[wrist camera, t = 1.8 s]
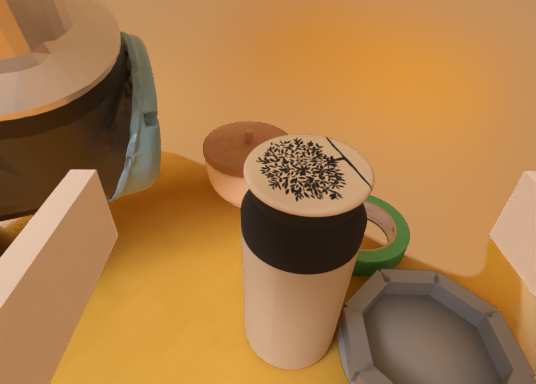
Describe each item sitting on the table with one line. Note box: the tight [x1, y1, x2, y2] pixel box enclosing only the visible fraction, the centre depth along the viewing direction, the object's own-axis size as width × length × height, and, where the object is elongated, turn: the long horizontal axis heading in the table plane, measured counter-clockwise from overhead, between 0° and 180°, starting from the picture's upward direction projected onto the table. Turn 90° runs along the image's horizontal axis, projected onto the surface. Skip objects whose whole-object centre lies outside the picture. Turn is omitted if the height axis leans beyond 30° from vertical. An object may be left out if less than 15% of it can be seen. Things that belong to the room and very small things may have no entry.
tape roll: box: [352, 195, 410, 276], centre depth 40 cm, size 11×11×3 cm
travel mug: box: [241, 134, 374, 370], centre depth 26 cm, size 8×8×18 cm
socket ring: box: [337, 269, 536, 384], centre depth 29 cm, size 15×15×2 cm
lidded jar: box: [203, 122, 288, 208], centre depth 42 cm, size 11×11×9 cm
